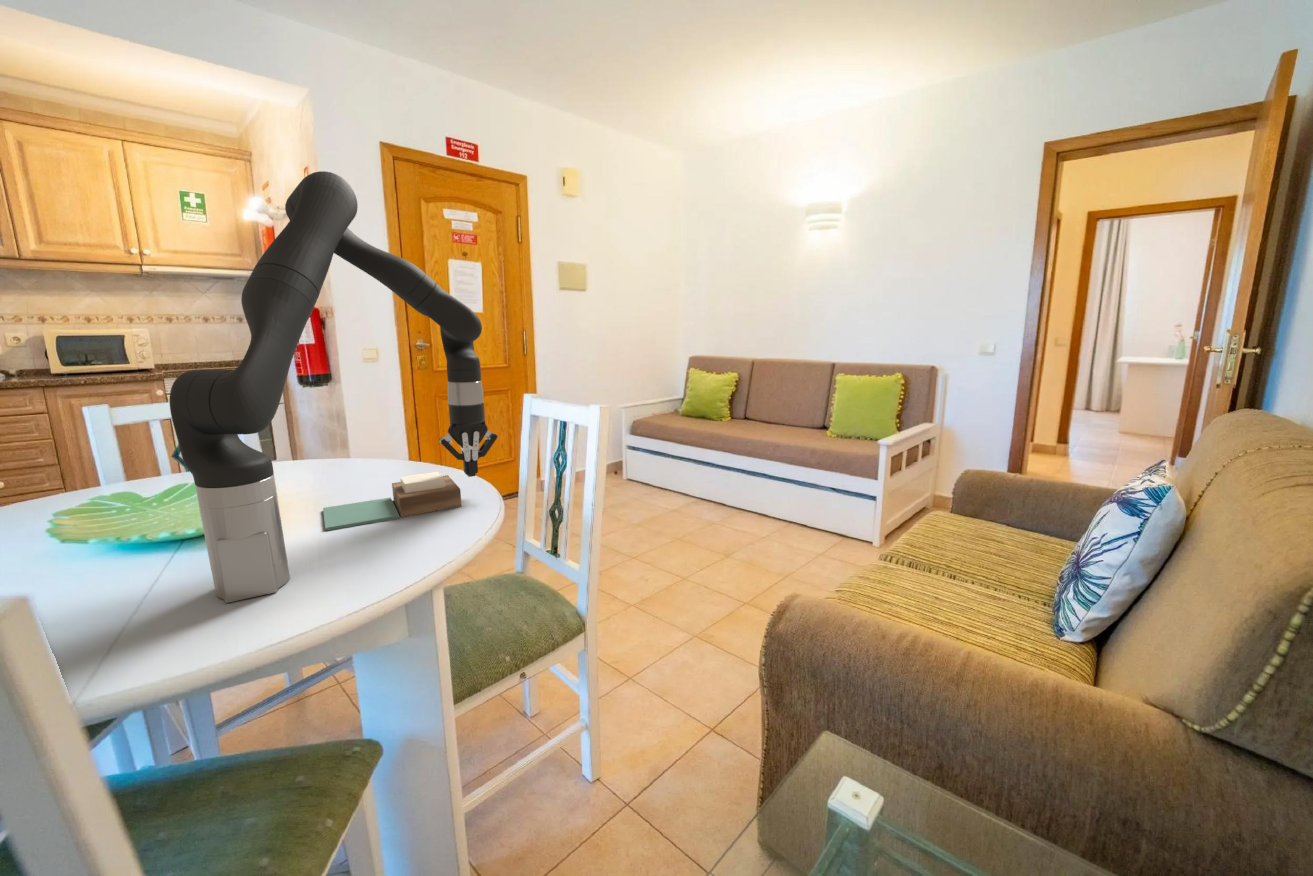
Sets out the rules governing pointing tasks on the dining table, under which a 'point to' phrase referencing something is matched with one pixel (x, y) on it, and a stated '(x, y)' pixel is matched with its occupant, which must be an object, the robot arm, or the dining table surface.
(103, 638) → the dining table surface
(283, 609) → the dining table surface
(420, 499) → the block
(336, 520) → the mat
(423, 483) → the cream flat block
